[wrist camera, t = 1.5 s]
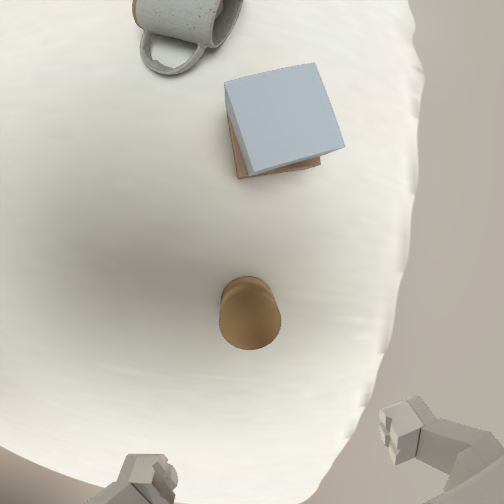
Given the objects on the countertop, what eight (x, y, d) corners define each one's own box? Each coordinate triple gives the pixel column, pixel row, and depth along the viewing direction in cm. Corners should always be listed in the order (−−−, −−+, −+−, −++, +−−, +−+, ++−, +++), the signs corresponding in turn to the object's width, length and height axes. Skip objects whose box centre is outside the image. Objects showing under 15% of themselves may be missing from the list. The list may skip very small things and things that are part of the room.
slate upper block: (249, 176, 21) (254, 171, 16) (225, 106, 20) (224, 82, 15) (320, 155, 21) (345, 146, 16) (297, 87, 20) (314, 62, 15)
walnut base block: (238, 179, 26) (239, 176, 21) (227, 114, 24) (225, 97, 20) (305, 169, 26) (321, 164, 21) (293, 105, 25) (306, 88, 20)
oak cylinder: (226, 328, 28) (225, 354, 23) (216, 281, 27) (213, 300, 22) (276, 319, 28) (284, 344, 24) (268, 271, 27) (276, 289, 23)
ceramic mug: (171, -10, 21) (158, -53, 14) (245, 4, 22) (249, -41, 15) (126, 70, 23) (95, 38, 15) (204, 88, 24) (194, 54, 16)
